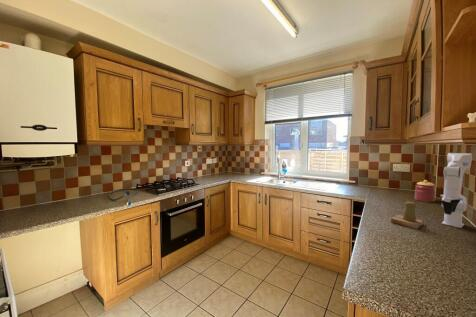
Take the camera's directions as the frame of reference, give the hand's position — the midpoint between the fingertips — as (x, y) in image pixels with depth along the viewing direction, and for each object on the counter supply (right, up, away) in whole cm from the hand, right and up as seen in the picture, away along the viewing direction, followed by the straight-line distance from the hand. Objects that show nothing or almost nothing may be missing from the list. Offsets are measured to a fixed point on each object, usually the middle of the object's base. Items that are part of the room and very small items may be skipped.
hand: (449, 212), depth 109 cm
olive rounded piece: (-13, -7, +11) cm, 18 cm away
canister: (+43, -6, +60) cm, 74 cm away
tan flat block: (-13, -10, +12) cm, 20 cm away
